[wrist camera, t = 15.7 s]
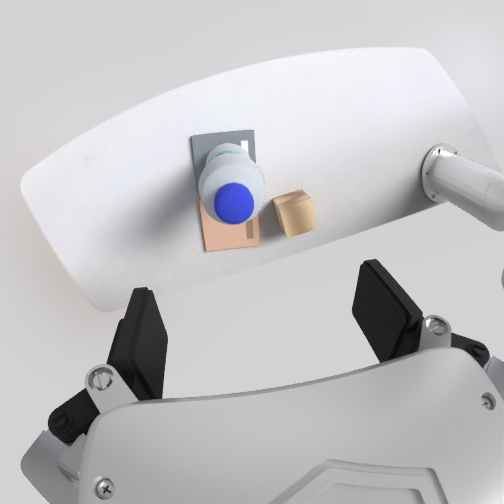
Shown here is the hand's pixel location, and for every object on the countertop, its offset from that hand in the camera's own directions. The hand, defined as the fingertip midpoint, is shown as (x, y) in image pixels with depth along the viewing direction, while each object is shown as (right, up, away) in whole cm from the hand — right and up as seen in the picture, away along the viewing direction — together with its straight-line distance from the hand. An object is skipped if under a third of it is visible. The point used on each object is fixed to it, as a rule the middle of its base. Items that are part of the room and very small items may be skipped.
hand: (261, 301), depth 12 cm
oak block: (+6, +9, +33) cm, 35 cm away
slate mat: (-4, +16, +28) cm, 32 cm away
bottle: (-4, +15, +27) cm, 32 cm away
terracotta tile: (-4, +7, +33) cm, 34 cm away
